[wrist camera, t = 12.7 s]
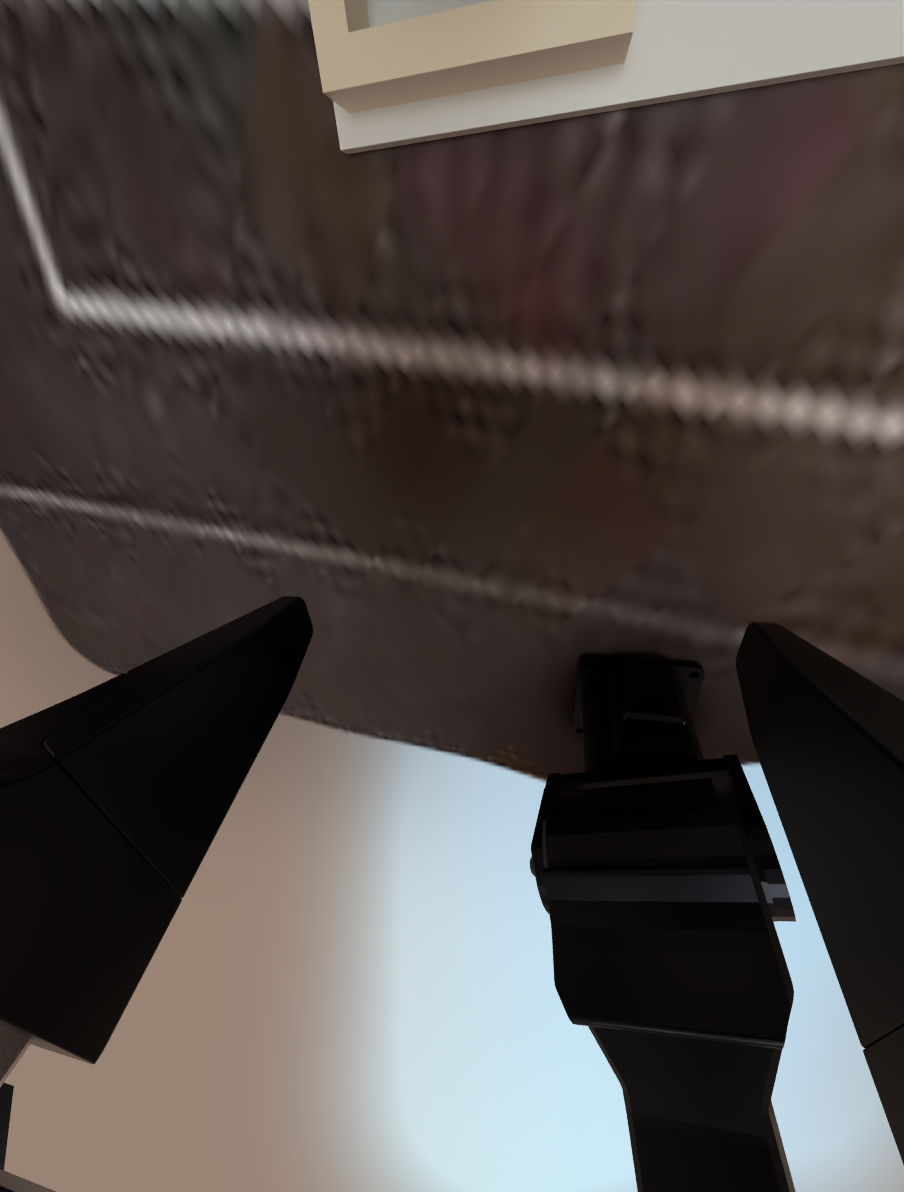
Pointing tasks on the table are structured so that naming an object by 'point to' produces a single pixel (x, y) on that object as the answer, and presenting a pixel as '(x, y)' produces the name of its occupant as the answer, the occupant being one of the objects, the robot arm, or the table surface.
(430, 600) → the table surface
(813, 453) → the table surface
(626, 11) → the white oblong stand
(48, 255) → the table surface
